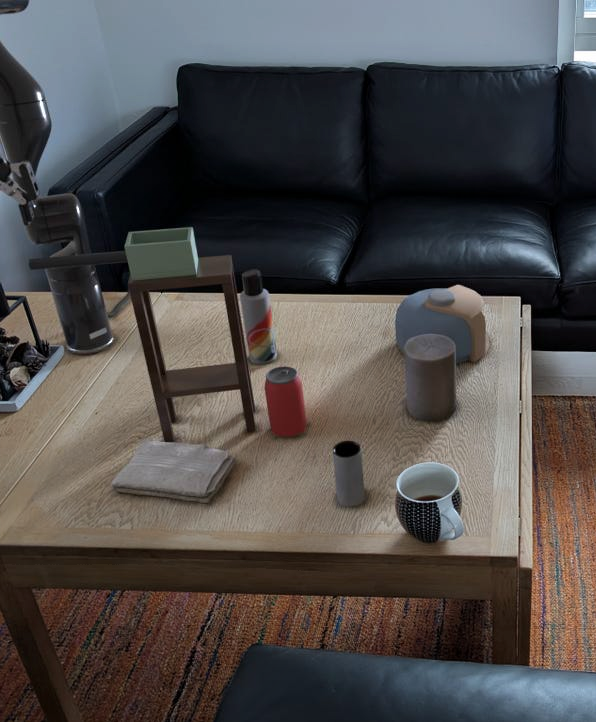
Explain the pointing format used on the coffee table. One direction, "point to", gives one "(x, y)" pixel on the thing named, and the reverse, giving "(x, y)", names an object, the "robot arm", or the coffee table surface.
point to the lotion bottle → (257, 318)
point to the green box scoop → (140, 255)
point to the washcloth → (175, 471)
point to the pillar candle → (430, 376)
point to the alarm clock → (445, 319)
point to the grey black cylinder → (348, 473)
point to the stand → (194, 378)
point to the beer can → (285, 402)
